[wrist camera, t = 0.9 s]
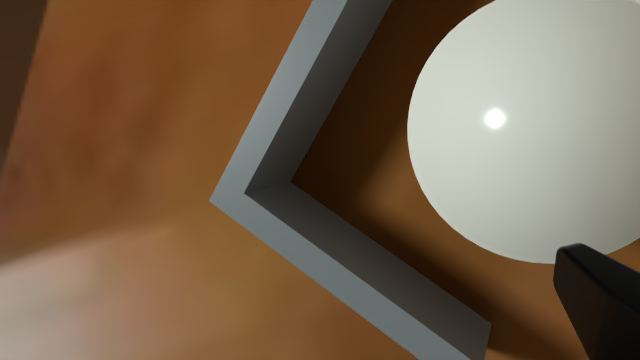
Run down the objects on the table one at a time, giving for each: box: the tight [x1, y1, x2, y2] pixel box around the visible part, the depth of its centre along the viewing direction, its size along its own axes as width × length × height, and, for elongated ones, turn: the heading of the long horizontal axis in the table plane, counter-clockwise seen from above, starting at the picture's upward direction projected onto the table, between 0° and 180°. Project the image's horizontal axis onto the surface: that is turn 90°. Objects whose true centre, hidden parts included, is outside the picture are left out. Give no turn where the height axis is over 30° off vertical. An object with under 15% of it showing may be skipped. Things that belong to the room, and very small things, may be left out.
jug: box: [407, 0, 640, 264], centre depth 17 cm, size 10×7×9 cm
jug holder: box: [209, 0, 492, 360], centre depth 20 cm, size 12×18×4 cm, turn 149°
